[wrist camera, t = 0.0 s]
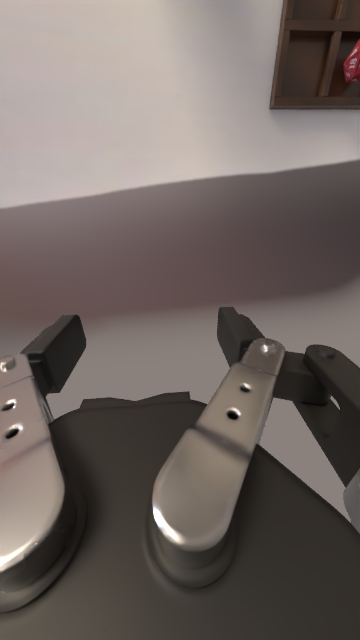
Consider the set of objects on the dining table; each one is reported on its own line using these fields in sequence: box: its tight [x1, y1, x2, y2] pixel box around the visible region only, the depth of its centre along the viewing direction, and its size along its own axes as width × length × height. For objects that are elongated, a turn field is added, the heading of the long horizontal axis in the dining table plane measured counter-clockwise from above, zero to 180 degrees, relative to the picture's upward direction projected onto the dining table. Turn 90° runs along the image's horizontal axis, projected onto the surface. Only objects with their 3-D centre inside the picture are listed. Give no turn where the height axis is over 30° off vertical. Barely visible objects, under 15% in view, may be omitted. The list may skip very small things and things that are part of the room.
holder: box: [269, 0, 360, 109], centre depth 26 cm, size 15×15×1 cm
